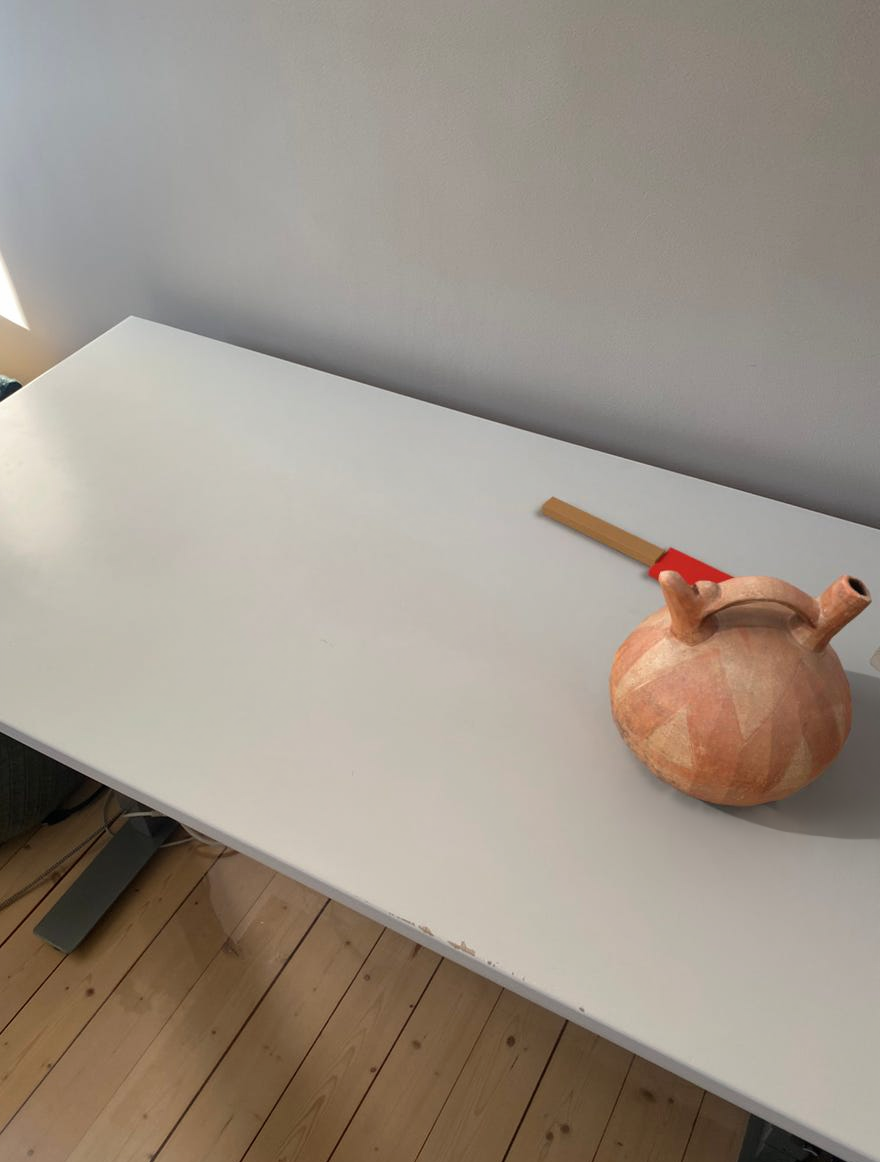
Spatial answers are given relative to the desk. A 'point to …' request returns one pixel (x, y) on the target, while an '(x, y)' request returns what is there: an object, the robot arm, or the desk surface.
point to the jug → (737, 686)
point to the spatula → (633, 545)
